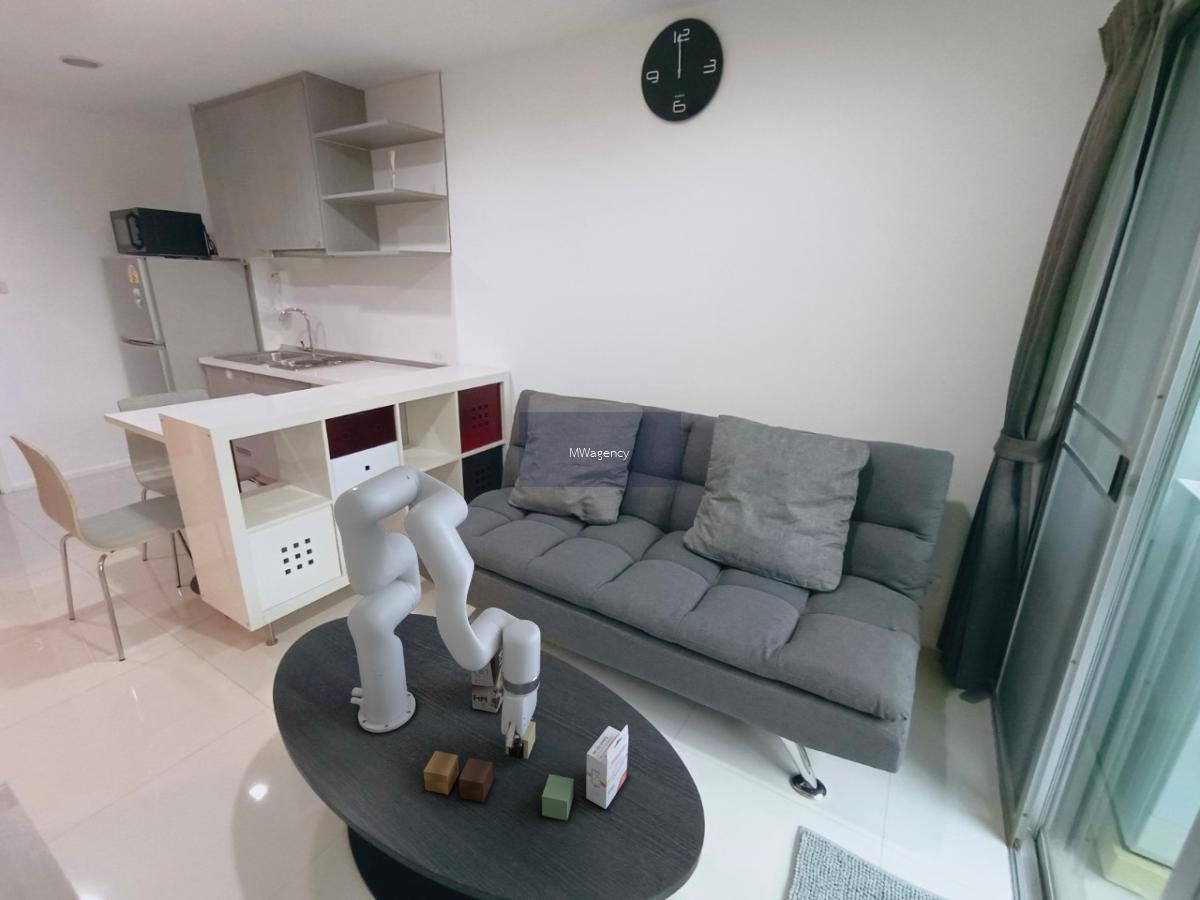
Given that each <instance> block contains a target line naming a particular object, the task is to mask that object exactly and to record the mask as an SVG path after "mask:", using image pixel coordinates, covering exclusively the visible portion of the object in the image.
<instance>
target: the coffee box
mask: <svg viewBox="0 0 1200 900" xmlns="http://www.w3.org/2000/svg"><path fill="white" fill-rule="evenodd" d="M470 679H471V699H472V702H471V703H472V709H475V710H480V711H486V712H489V713H495V714H496V713H497V712H498V711H499V708H500V706H501V705H502V704H503V699H504V693H505V690H504V689H503V649H502V648H500V649H499V650H498V651H497V652H496V654H495V655H494V656H493V657H492V659H491V660H490V661H489V662H488V664H487V665H486V666H484V667H483V668H482V669H479V670H476V671H470Z"/></svg>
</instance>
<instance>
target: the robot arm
mask: <svg viewBox="0 0 1200 900" xmlns="http://www.w3.org/2000/svg"><path fill="white" fill-rule="evenodd" d="M409 505H412V508H411V509H410V510H408V512H407V513H406V515H405V516H404V519H403V528H404V531H405V532H406V535H407V536H406V535H404V534H402V533H401V532H389V533H387V531H386V529H385V526H384V525H383V523H382V521H383V520H386V519H387V518H390V516H393V515H394V514H396V513H398V512H400V511H401V510H403V509H404V508H406V507H407V506H409ZM468 514H469V507H468V504H467V502H466V500H465V498H464V497H463V496H462V495H461V494H460V493H459V492H458V491H457V490H455V489H454V488H453V487H451V486H450V485H448V484H446V483H445V482H443V481H441V480H439V479H437V478H436V477H433V476H432V475H429V474H427V473H426V472H424V471H422V470H420V469H418V468H416V467H414V466H411V465H406V464H405V465H404V464H403V465H397V466H393V467H392V468H389V469H387V470H384V471H383V472H381V473H379V474H377V475H375V476H373V477H370V478H369V479H367V480H364V481H363V482H361V483H358V484H356V485H354V486H353V487H350V488H349V489H347V490H345V491H343V492H342V493H341V494H339V495H338V497H337V498H336V499H335V501H334V505H333V517H334V520H335V524H336V527H337V528H338V531H339V534H340V537H341V543H342V551H343V556H344V563H345V568H346V574H347V578H348V583H349V585H350V587H351V590H353V591H354V593H356V594H357V595H360V596H363V597H361V598H360V599H359V600H358V601H357V602H356V603H354V605H352V607H351V609H350V610H349V612H348V615H347V618H346V623H347V627H348V630H349V633H350V635H351V637H352V640H353V643H354V647H355V652H356V659H357V664H358V670H359V671H358V672H359V679H360V686H361V687H356V686H355V687H354V688H353V689H352V691H351V696H352V697H351V698H350V704H353V705H358V706H359V710H358V712H357V719H358V723H359V725H360V727H361V728H362V729H363V730H365V731H366V732H367V731H368V732H371V733H377V734H379V733H380V734H381V733H386V732H390V731H393V730H396V729H398V728H400V727H402V726H403V725H404V724H405V723H407V722H409V720H410V719H411V718H412V716H413V715H414V713H415V711H416V699H415V697H414V695H413V693H412V692H410V691H408V687H407V676H406V668H405V657H404V648H403V643H402V640H401V639H400V637H399V636H397V635H396V634H395V629H396V627H397V626H398V625H400V623H402V621H404V619H406V617H407V616H409V615H410V614H411V613H412V612H413V611H414V610H415V609H416V608H417V607H418V605H419V604H420V602H421V599H422V585H421V583H422V582H421V576H420V568H419V558H420V560H421V562H422V563H423V566H424V567H425V569H426V571H427V572H428V574H429V576H430V578H431V579H432V581H433V583H434V586H435V594H434V595H435V596H434V609H435V619H436V625H437V630H438V633H439V635H440V638H441V640H442V642H443V643H444V645H445V647H446V648H447V651H448V652H449V653H450V655H451V657H452V658H453V660H455V662H456V663H457V664H458V665H459V666H460V667H461V668H463V669H465V670H466V671H470V672H471V671H476V670H479V669H482V668H483V667H484V666H486V665H487V664H488V662H489V661H490V660H491V659H492V657H493V656H494V655H495V654H496V652H497V651H498V650H499V649H500V648H502V649H503V689H504V690H505V693H504V699H503V701H502V707H501V722H500V723H501V724H500V732H501V734H502V735H505V736H506V734H507V732H508V730H509V733H508V738H507V743H506V742H505V748H506V747H507V748H508V754H507V755H508V757H509V758H514V759H519V760H523V759H524V758H523V757H524V743H522V740H523V736H524V734H525V732H526V730H527V727H528V725H529V722H530V721H532V722H533V719H534V712H535V710H536V707H537V701H538V689H539V688H540V684H541V683H540V677H541V676H540V675H541V636H542V635H541V630H540V628H539V626H538V625H537V624H536V623H535V622H533V621H531V620H527V619H519V618H518V617H516V616H514V615H512V614H510V613H508V612H507V611H505V610H503V609H501V608H498V607H493V606H492V607H491V606H490V607H487V608H486V609H484V610H483V611H482V612H481V613H479V615H477V617H476V619H475V620H474V621H473V622H472V623H471V624H470V621H469V618H468V613H467V600H468V599H467V598H468V592H469V590H470V587H471V586H470V585H471V582H472V579H473V575H474V570H475V561H474V559H473V558H472V555H471V554H470V553H469V551H468V549H467V547H466V545H465V544H464V542H463V541H464V540H463V539H462V538H461V536H460V534H459V532H458V530H457V529H456V528H457V527H459V526H460V525H461V524H462V523H464V521H465V520H466V519H467V517H468ZM515 735H518V736H519V740H516V739H515Z"/></svg>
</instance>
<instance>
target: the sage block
mask: <svg viewBox="0 0 1200 900" xmlns="http://www.w3.org/2000/svg"><path fill="white" fill-rule="evenodd" d="M574 782H575V781H574V778H570V777H566V776H560V775H556V774H551V773H549V775H548V777H547V780H546V783H545V786H544V789H543V792H542V795H541V815H542V816H543V817H547V818H552V819H558V820H561V821H566V822H567V821H568V819H569V815H570V811H571V809H572V804H573V800H574V786H575V785H574Z"/></svg>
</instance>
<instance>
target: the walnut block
mask: <svg viewBox="0 0 1200 900" xmlns="http://www.w3.org/2000/svg"><path fill="white" fill-rule="evenodd" d="M459 775H460V776H458V777H459V778H458V785H459V786H458V787H459V798H461V799H466V800H470V801H474V802H475V801H476V802H480V803H484V802H485V800H486V798H487V796H488V793H489V791H490V790H491V787H492V784H493V782H494V771H493V762H492V761H488V760H484V759H478V758H474V757H468V760H467V761H466V764H465V766H464V767H463V769H462V771H461V773H460V774H459Z"/></svg>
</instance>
